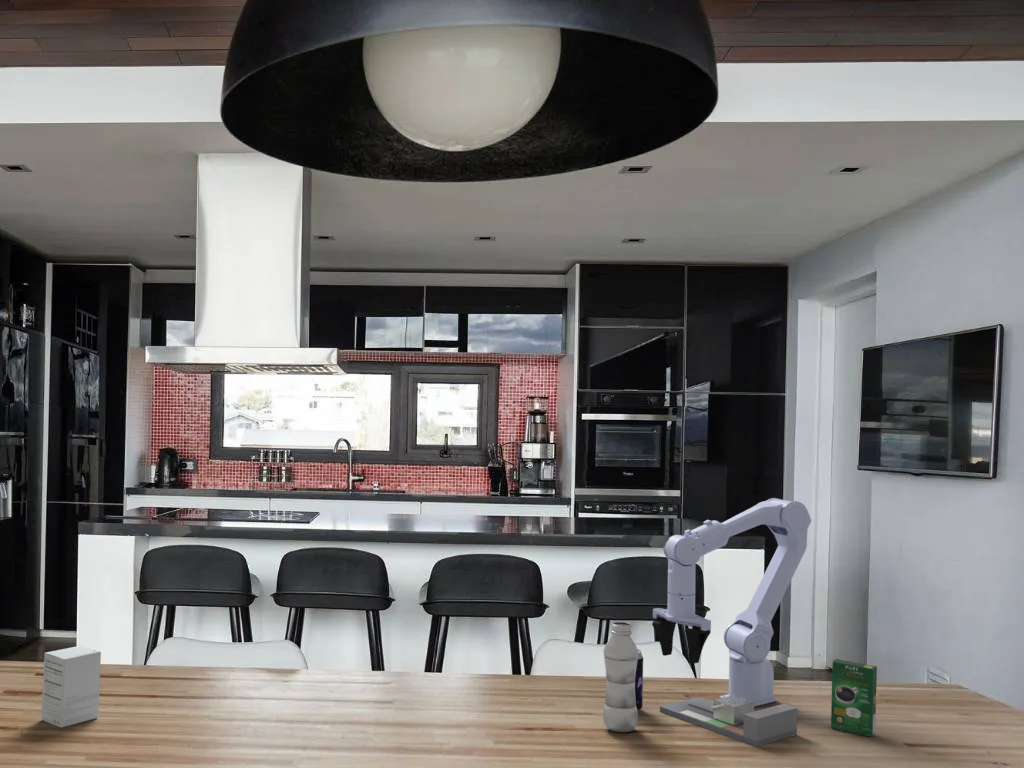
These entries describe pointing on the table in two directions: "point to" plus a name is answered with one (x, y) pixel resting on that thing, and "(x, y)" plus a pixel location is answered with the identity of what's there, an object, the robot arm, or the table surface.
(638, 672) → the beverage can
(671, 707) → the gauge board
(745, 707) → the slider block with tab
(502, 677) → the table surface
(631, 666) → the plastic bottle
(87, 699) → the supplement box
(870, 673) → the coffee box
